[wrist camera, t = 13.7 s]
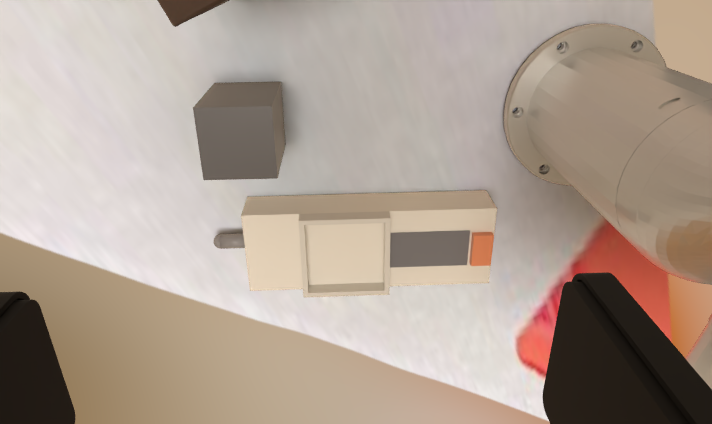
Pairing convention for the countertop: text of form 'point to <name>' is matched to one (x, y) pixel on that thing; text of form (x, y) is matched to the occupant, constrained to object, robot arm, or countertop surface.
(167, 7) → the coffee box
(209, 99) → the block
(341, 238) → the power strip
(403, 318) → the countertop surface
